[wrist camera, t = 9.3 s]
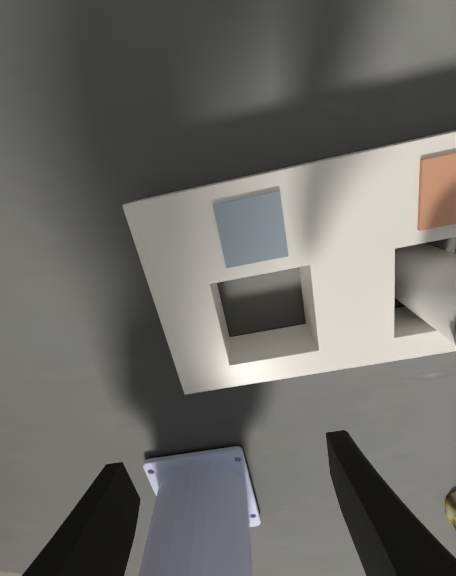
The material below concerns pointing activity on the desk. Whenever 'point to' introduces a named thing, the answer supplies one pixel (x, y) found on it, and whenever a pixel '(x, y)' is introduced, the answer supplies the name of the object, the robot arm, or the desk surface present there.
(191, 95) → the desk surface
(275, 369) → the white flat block
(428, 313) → the plug
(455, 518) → the mottled yellow lump
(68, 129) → the desk surface
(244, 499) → the robot arm
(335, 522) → the desk surface
